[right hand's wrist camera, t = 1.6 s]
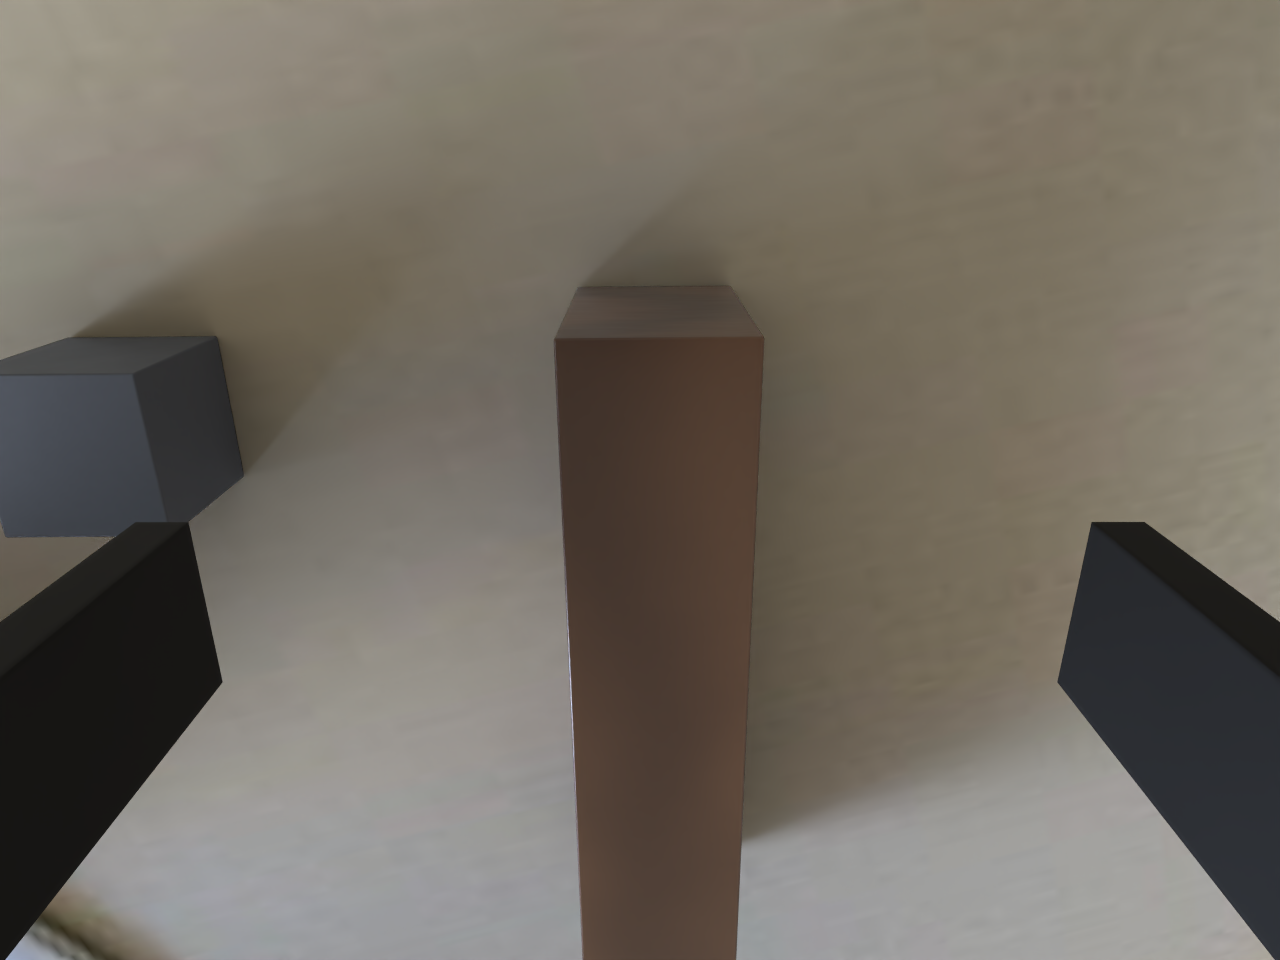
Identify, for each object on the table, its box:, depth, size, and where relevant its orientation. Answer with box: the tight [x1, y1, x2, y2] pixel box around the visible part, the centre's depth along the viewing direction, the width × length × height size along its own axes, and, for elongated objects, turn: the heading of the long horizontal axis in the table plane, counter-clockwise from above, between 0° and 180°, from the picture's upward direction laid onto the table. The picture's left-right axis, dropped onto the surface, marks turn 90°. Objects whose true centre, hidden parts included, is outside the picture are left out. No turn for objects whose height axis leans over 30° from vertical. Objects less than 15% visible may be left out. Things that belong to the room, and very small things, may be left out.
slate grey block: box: [0, 336, 244, 537], centre depth 27 cm, size 5×5×5 cm
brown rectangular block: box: [554, 286, 764, 960], centre depth 28 cm, size 5×24×8 cm, turn 0°
